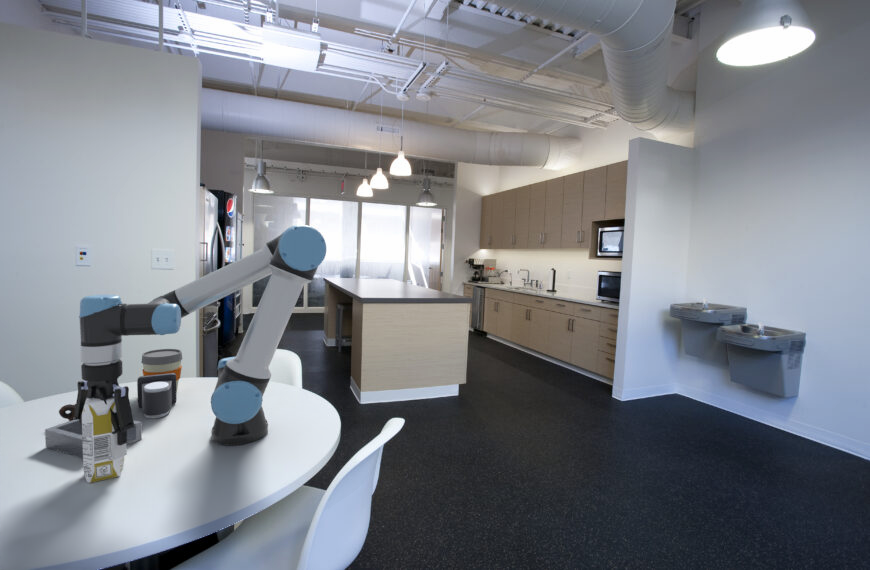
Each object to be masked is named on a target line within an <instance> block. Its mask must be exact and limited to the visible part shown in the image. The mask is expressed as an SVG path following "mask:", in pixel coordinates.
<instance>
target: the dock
mask: <svg viewBox="0 0 870 570" xmlns="http://www.w3.org/2000/svg"><path fill="white" fill-rule="evenodd" d="M133 421H134V427H133V428H130V429H128V430H127V443H126V447H127V446H129V445H131V444H134V443H135V442H139V441H141V440H142V439H143V438H142V436H143V435H142V433H143V432H142V421H138V420H134V419H133ZM44 433H45V434H44V438H45V448H46V447H47V448H46V449H49V448H50V450H53V449H54V450H53V451H56V450H58V451H57V452H59V451H61V452H60V453H63V452H64V454H66V453H67V454H66V455H71V456H74V457H75V458H76V457H77V458H81V459H83V441H82V424H80V422H79V420H75V419H73V420H72V421H67V422H64V423H60V424H58V425H53V426H52V427H51V426H50V427H48V428H45V429H44Z"/></svg>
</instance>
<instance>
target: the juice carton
mask: <svg viewBox="0 0 870 570" xmlns="http://www.w3.org/2000/svg"><path fill="white" fill-rule="evenodd" d="M106 402H107V404H105V402H104V401H103V400H100V399H97V398H93V397H92V398H90V399H89V398H87V399H86V401H85V405H84V408H83V412H82V441H83V458H82V460H83V461H82V465H83V470H82V471H83V475H84V476H85V480H86V482H87V484H91V483H95V482H100V481H104V480H108V479H113V478H117V477H120V476H121V475H122V472H123V468H124V465H125V456H123V457H121V458H118V459H116V460H113V459H112V433H111V432H113V431H115V430H114V428H113V425H112V422H111V412H110V408H111V409H112V411H113V412H114V413H116V412H117V411H116V406H115V401H114V398H110V399H107V400H106Z"/></svg>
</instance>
